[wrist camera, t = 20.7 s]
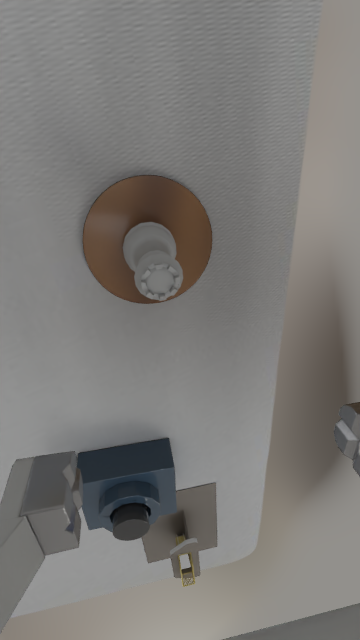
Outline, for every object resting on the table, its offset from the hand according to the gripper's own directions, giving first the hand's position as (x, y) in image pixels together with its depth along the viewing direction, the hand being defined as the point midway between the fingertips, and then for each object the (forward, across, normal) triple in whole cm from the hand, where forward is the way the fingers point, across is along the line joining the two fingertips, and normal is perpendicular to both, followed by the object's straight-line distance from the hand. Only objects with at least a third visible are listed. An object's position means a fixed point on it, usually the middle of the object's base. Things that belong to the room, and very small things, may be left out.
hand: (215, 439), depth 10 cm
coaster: (+21, 0, 0) cm, 21 cm away
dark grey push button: (+15, +5, +29) cm, 33 cm away
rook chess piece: (+21, 0, 0) cm, 21 cm away
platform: (+21, -1, +45) cm, 49 cm away
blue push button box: (+21, +5, +29) cm, 36 cm away
